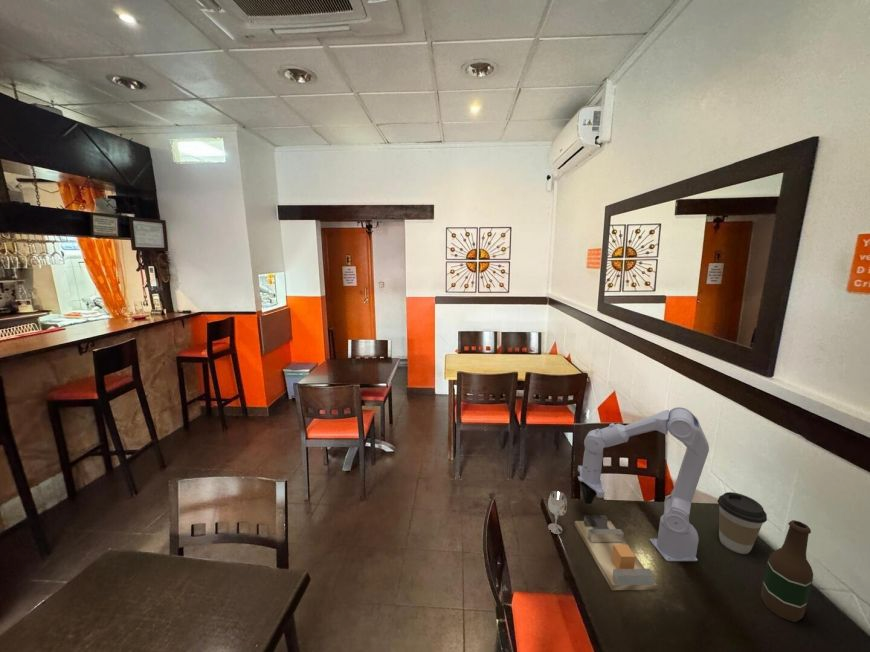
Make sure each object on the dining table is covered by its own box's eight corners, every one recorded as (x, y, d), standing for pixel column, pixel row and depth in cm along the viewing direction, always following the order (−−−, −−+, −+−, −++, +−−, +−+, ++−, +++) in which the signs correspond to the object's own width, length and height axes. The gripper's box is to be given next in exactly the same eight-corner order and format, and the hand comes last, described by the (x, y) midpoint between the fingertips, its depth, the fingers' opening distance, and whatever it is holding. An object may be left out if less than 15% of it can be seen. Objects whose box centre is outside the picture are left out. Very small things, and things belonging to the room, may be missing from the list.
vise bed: (609, 524, 113) (610, 520, 113) (656, 589, 91) (656, 584, 90) (574, 525, 113) (574, 521, 112) (612, 590, 90) (612, 585, 90)
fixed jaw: (648, 578, 92) (649, 568, 92) (653, 584, 90) (654, 575, 90) (612, 578, 92) (613, 568, 91) (616, 585, 90) (617, 575, 89)
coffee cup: (726, 527, 113) (734, 486, 111) (768, 554, 103) (778, 510, 100) (702, 535, 110) (709, 493, 107) (743, 564, 99) (752, 518, 96)
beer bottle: (751, 592, 90) (768, 512, 86) (781, 594, 90) (800, 513, 86) (779, 622, 83) (800, 536, 79) (812, 624, 82) (835, 537, 78)
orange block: (633, 572, 94) (635, 556, 93) (619, 572, 94) (621, 556, 93) (625, 560, 98) (627, 544, 97) (611, 559, 98) (613, 544, 97)
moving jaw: (609, 522, 112) (609, 515, 111) (623, 542, 104) (624, 534, 103) (579, 522, 112) (579, 515, 111) (590, 542, 104) (591, 534, 103)
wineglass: (561, 522, 114) (565, 490, 112) (566, 536, 108) (570, 502, 106) (544, 521, 114) (547, 489, 112) (548, 534, 108) (551, 501, 106)
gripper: (571, 454, 121) (567, 488, 123) (590, 479, 106) (586, 517, 109) (590, 454, 121) (586, 488, 123) (612, 479, 107) (607, 517, 109)
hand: (587, 502), depth 116 cm, fingers closed
